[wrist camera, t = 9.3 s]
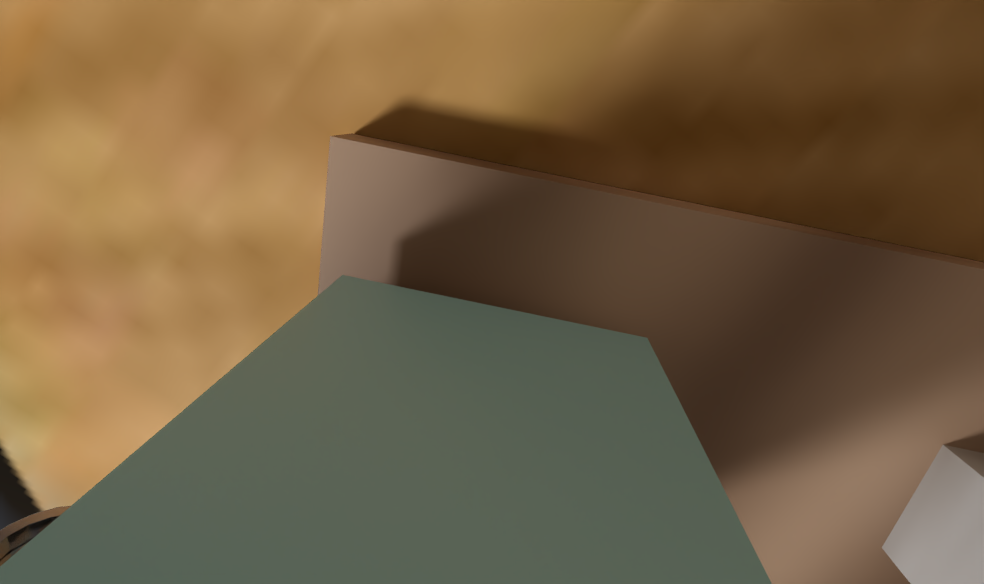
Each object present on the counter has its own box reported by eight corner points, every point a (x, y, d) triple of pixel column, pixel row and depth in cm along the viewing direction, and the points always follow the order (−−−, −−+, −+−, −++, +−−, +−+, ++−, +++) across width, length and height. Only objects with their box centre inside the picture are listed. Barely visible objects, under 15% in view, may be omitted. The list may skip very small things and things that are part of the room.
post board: (1223, 311, 10) (2129, 571, 4) (972, 650, 14) (1299, 1048, 8) (351, 133, 10) (122, 160, 5) (317, 513, 14) (159, 806, 8)
